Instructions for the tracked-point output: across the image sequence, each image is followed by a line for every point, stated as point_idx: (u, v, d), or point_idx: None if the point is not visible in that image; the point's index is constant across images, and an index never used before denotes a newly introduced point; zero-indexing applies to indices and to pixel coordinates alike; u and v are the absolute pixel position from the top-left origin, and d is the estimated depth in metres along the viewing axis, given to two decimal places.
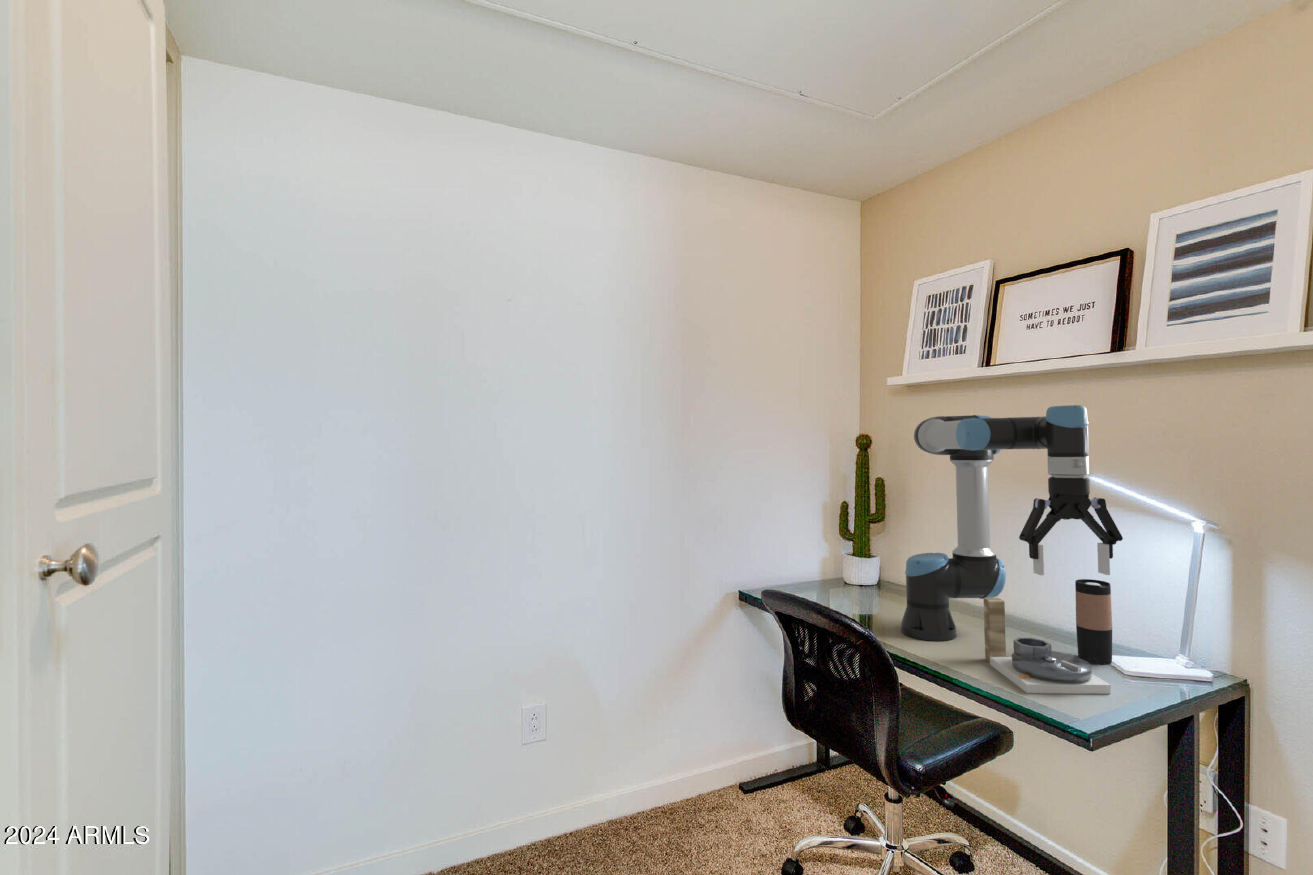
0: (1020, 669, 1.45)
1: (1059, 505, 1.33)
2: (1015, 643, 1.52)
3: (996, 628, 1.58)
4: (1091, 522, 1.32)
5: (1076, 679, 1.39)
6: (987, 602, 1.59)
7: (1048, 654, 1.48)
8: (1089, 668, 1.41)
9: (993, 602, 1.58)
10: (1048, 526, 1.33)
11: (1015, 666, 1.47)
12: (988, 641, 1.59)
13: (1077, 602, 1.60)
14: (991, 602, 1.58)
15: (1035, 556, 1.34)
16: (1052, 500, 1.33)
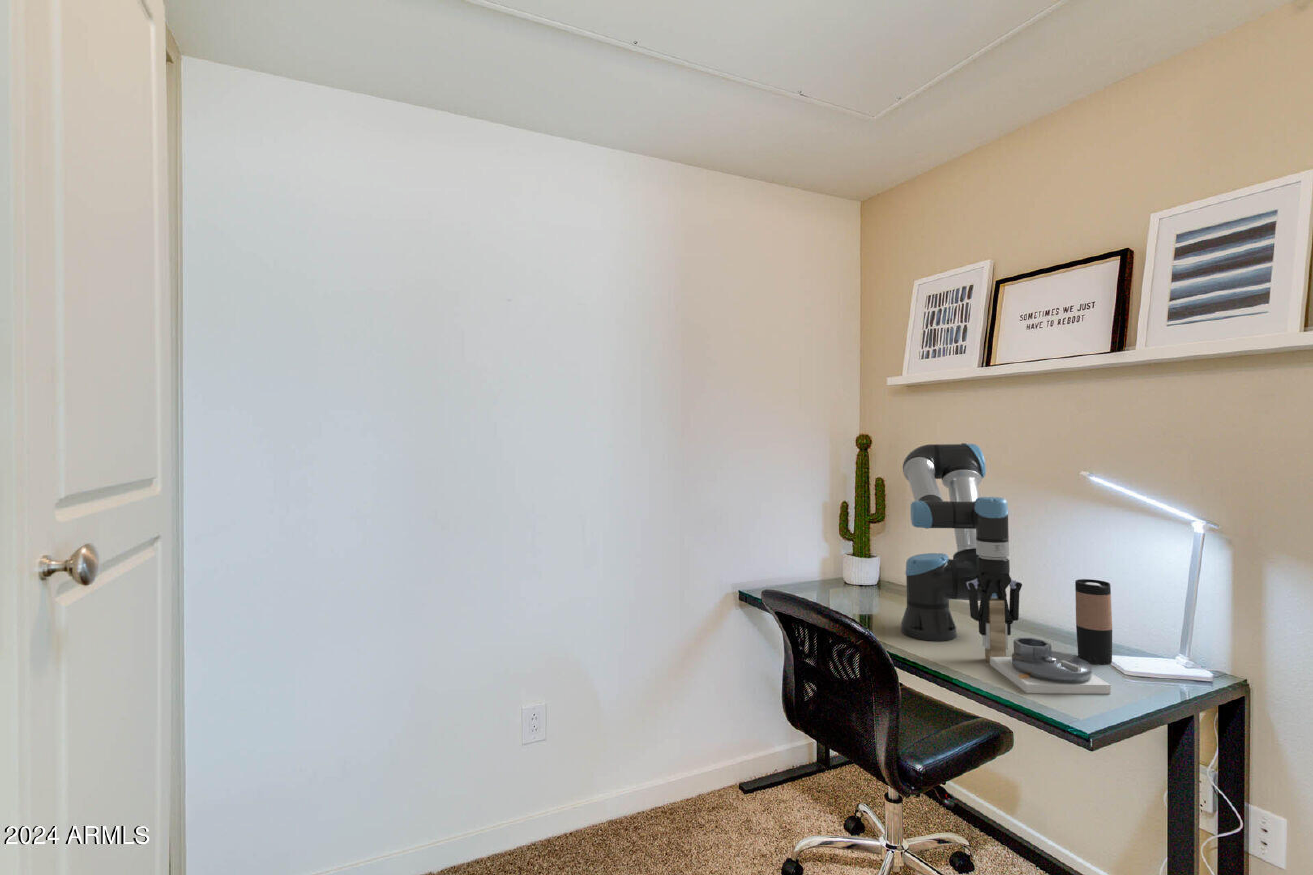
0: (1020, 669, 1.45)
1: (985, 580, 1.59)
2: (1015, 643, 1.52)
3: (996, 628, 1.58)
4: (1002, 599, 1.58)
5: (1076, 679, 1.39)
6: None
7: (1048, 654, 1.48)
8: (1089, 668, 1.41)
9: (993, 602, 1.58)
10: (986, 604, 1.59)
11: (1015, 666, 1.47)
12: None
13: (1077, 602, 1.60)
14: (991, 602, 1.58)
15: (983, 632, 1.59)
16: (978, 579, 1.59)
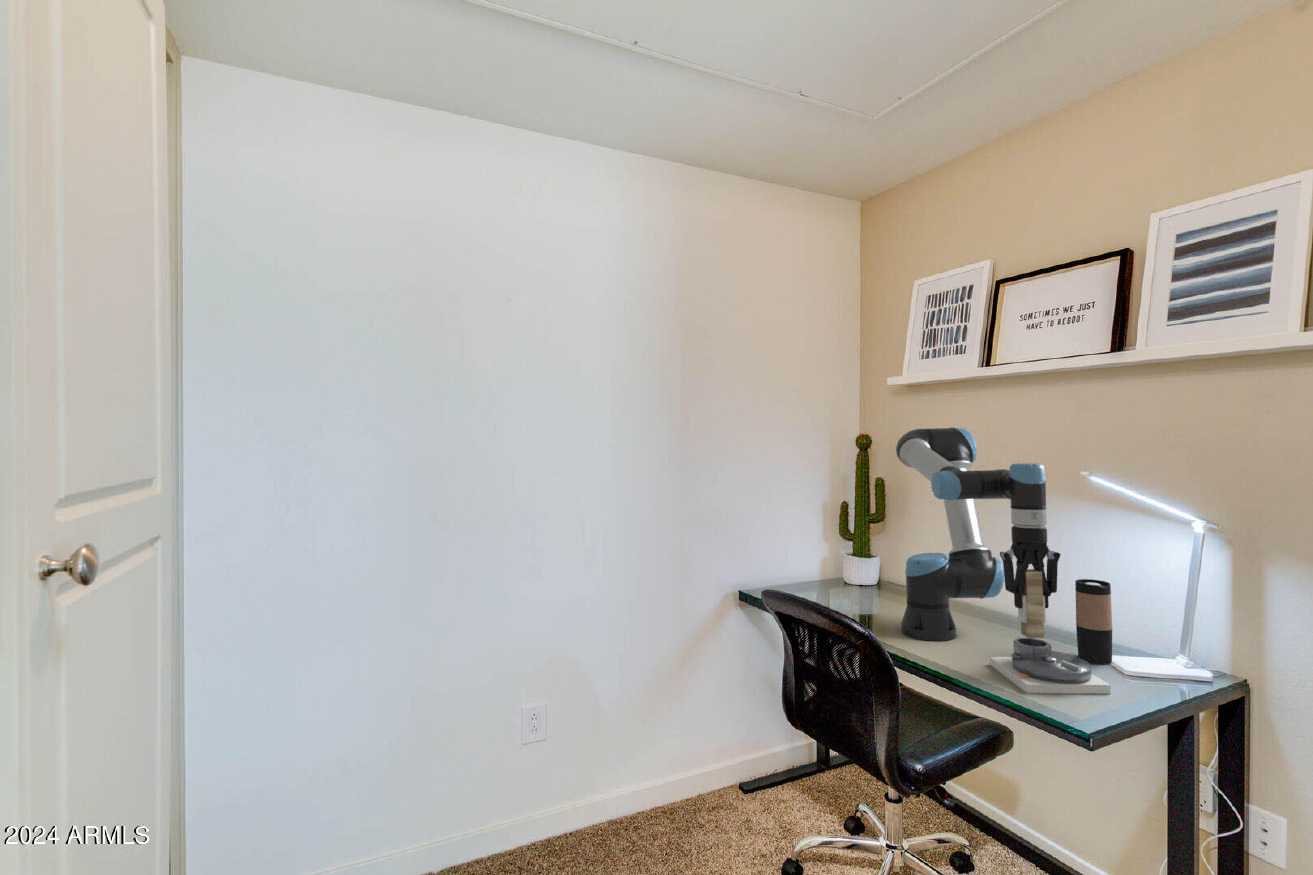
0: (1020, 669, 1.45)
1: (1021, 550, 1.51)
2: (1015, 643, 1.52)
3: (1034, 600, 1.50)
4: (1040, 570, 1.50)
5: (1076, 679, 1.39)
6: None
7: (1048, 654, 1.48)
8: (1089, 668, 1.41)
9: (1030, 573, 1.50)
10: (1022, 575, 1.50)
11: (1015, 666, 1.47)
12: None
13: (1077, 602, 1.60)
14: (1028, 573, 1.50)
15: (1019, 605, 1.51)
16: (1013, 549, 1.51)
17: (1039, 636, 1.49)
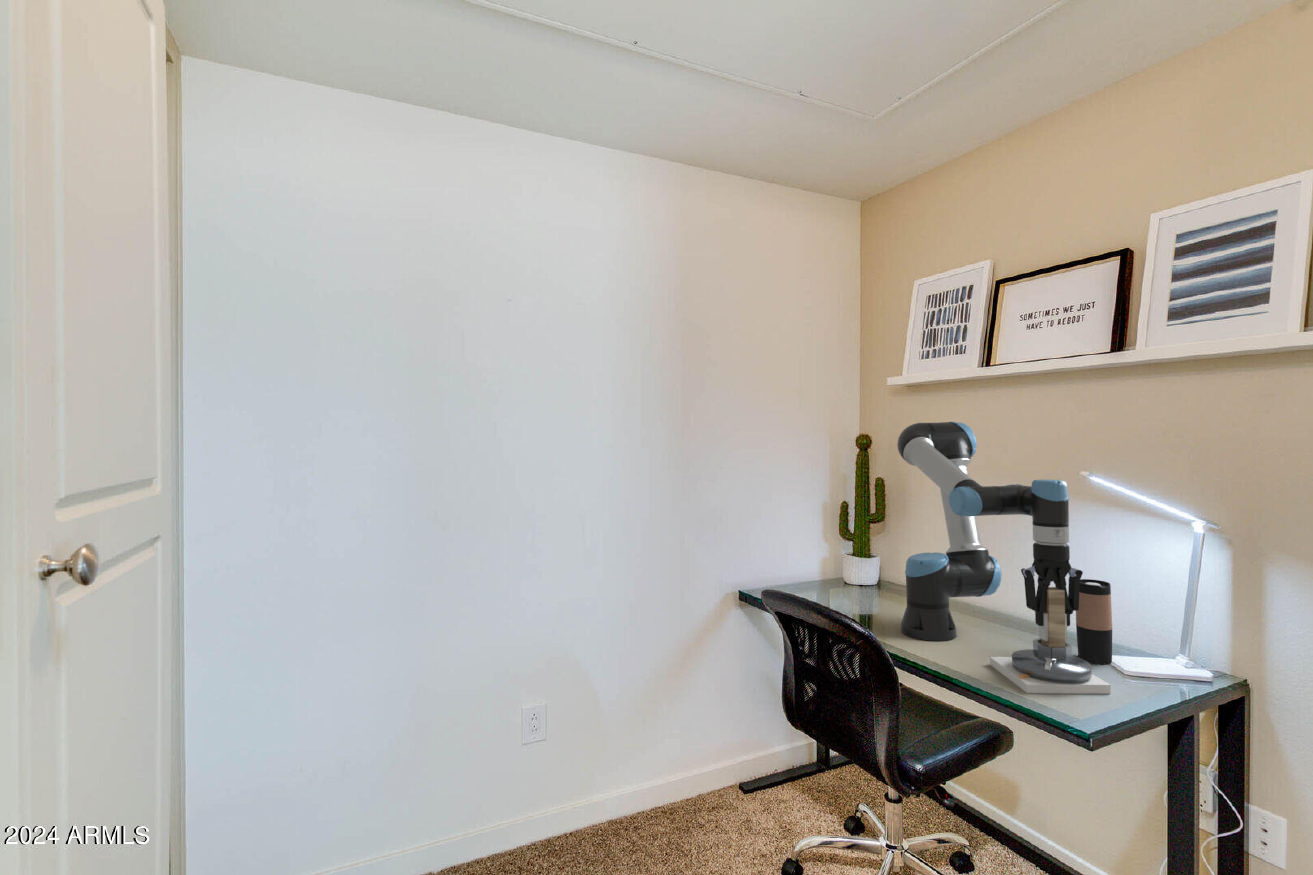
0: None
1: (1043, 568, 1.49)
2: None
3: (1055, 619, 1.48)
4: (1062, 588, 1.49)
5: (1040, 675, 1.41)
6: None
7: (1055, 655, 1.47)
8: (1067, 672, 1.39)
9: (1052, 591, 1.48)
10: (1044, 593, 1.49)
11: None
12: None
13: None
14: (1050, 591, 1.48)
15: (1041, 623, 1.50)
16: (1035, 566, 1.50)
17: None
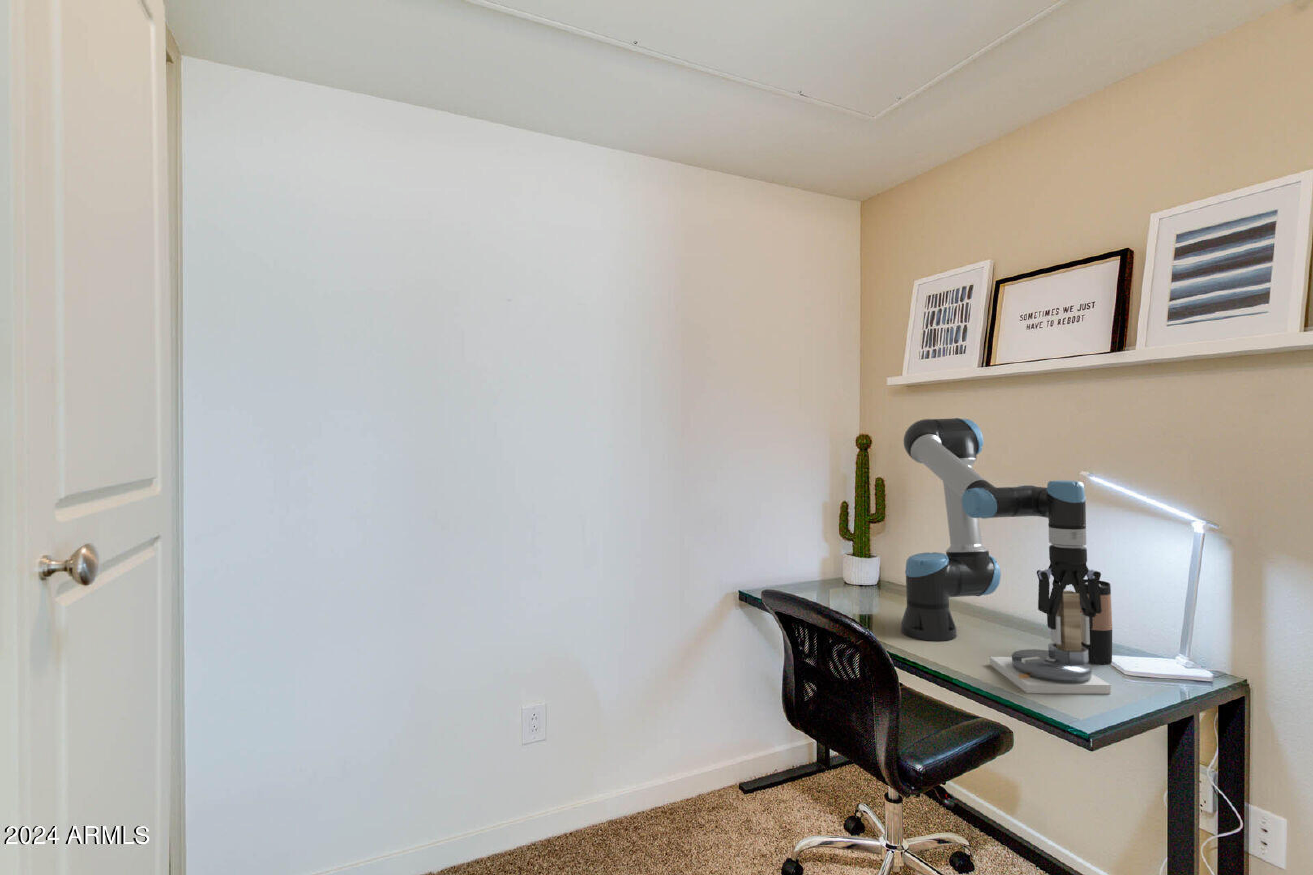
0: None
1: (1060, 571, 1.46)
2: None
3: (1071, 623, 1.45)
4: (1081, 591, 1.46)
5: (1017, 667, 1.46)
6: None
7: (1058, 657, 1.46)
8: (1038, 668, 1.42)
9: (1067, 595, 1.46)
10: (1058, 596, 1.46)
11: None
12: (1061, 637, 1.47)
13: None
14: (1065, 595, 1.46)
15: (1053, 626, 1.46)
16: (1052, 569, 1.46)
17: None
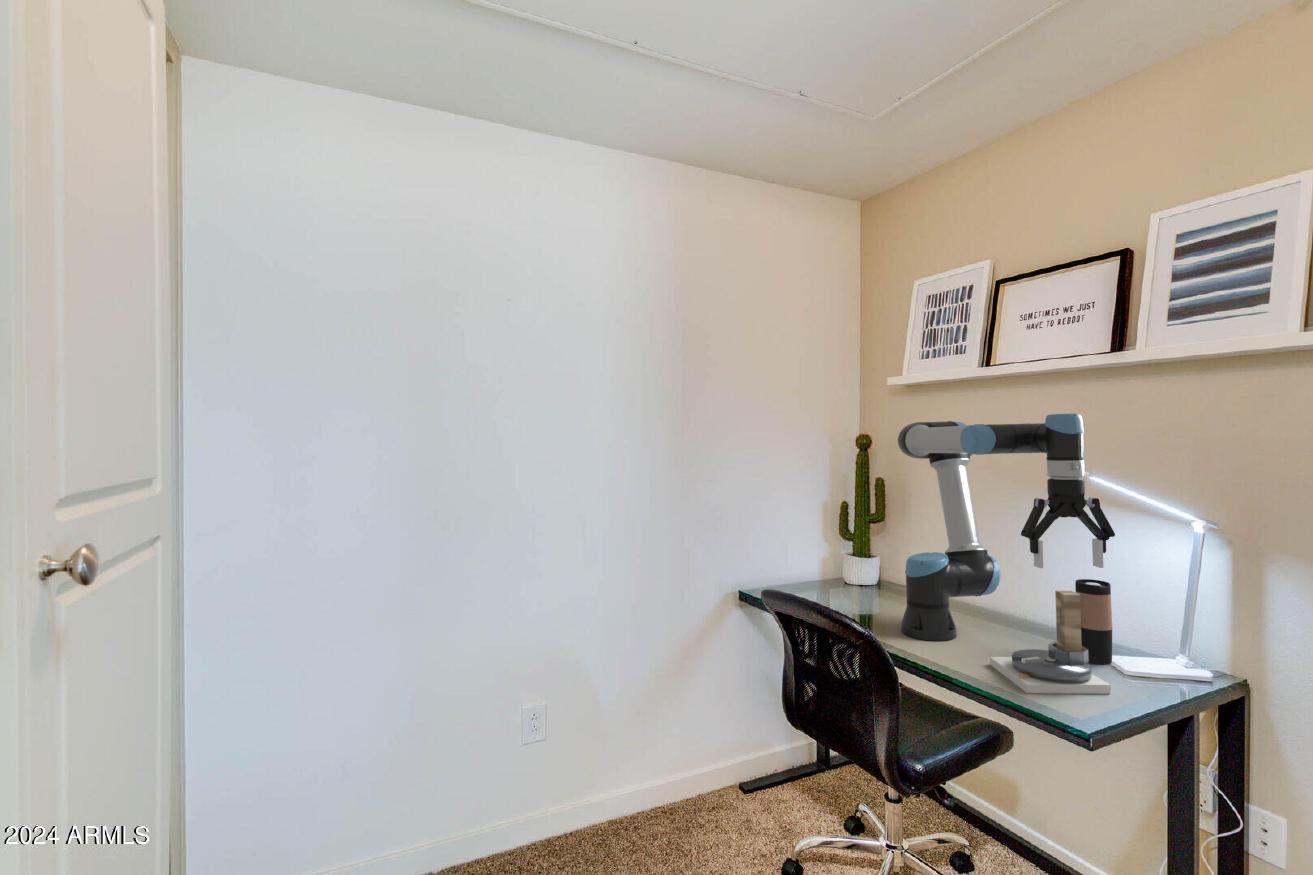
0: None
1: (1057, 504, 1.46)
2: None
3: (1071, 623, 1.45)
4: (1086, 520, 1.46)
5: (1017, 667, 1.46)
6: (1061, 595, 1.47)
7: (1058, 657, 1.46)
8: (1038, 668, 1.42)
9: (1068, 595, 1.45)
10: (1047, 523, 1.46)
11: None
12: (1062, 638, 1.47)
13: None
14: (1065, 595, 1.45)
15: (1035, 551, 1.47)
16: (1051, 500, 1.47)
17: None
